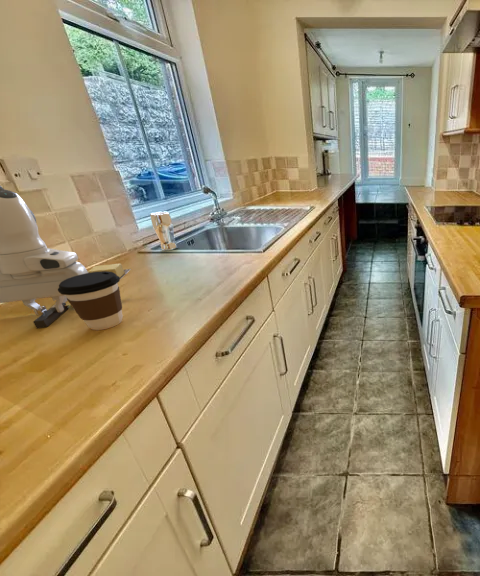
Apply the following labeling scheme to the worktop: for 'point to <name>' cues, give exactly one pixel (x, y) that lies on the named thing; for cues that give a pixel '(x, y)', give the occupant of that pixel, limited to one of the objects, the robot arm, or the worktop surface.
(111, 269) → the butter block
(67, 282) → the coffee cup
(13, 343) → the worktop surface
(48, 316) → the knife
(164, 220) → the beer glass
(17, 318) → the worktop surface
